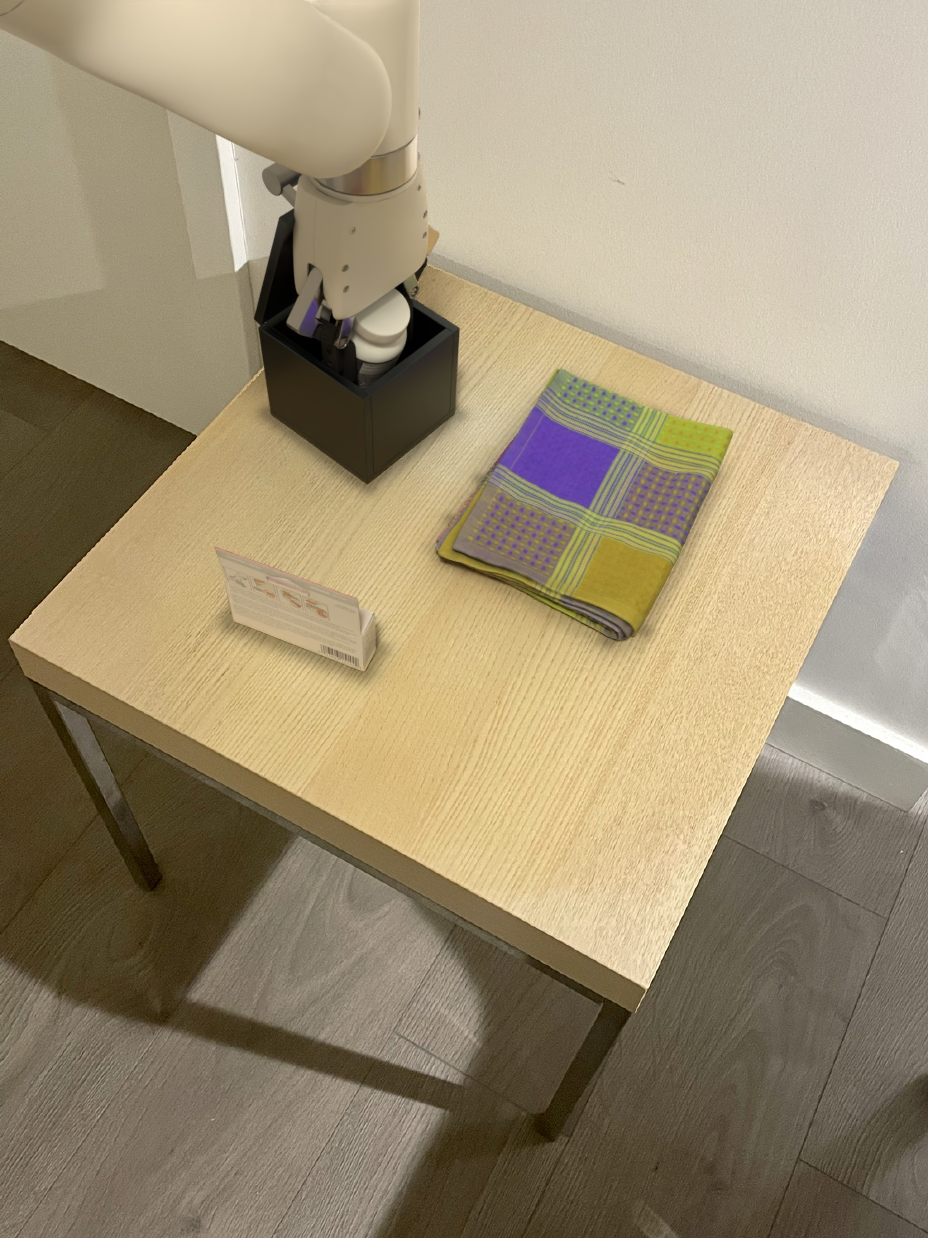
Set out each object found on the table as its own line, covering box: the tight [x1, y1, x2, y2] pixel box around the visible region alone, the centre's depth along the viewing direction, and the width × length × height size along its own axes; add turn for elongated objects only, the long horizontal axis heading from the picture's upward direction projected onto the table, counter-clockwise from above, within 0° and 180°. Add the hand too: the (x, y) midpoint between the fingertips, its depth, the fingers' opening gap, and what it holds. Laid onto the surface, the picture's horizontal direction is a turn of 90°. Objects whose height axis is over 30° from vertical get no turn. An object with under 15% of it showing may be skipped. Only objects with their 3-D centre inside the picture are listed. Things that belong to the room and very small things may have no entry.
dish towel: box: [434, 367, 734, 641], centre depth 88 cm, size 18×24×3 cm
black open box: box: [257, 298, 461, 485], centre depth 89 cm, size 12×11×10 cm
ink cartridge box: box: [213, 546, 377, 673], centre depth 77 cm, size 2×11×10 cm, turn 67°
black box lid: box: [253, 162, 302, 326], centre depth 81 cm, size 12×11×5 cm
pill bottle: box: [322, 288, 410, 391], centre depth 86 cm, size 6×6×10 cm
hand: (368, 351), depth 86 cm, fingers closed on pill bottle, 5 cm apart
